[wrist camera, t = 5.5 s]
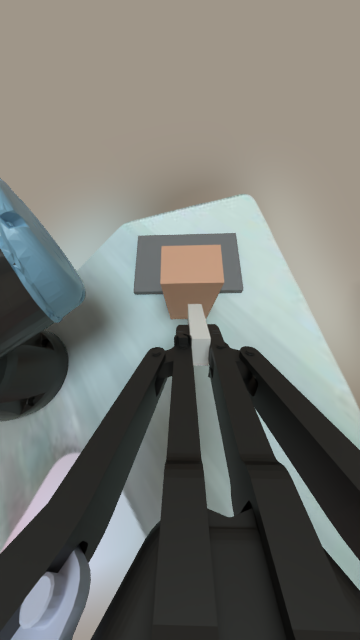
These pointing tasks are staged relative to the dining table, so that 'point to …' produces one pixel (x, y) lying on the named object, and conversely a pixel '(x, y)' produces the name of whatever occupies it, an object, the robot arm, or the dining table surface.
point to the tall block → (191, 277)
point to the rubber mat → (151, 245)
